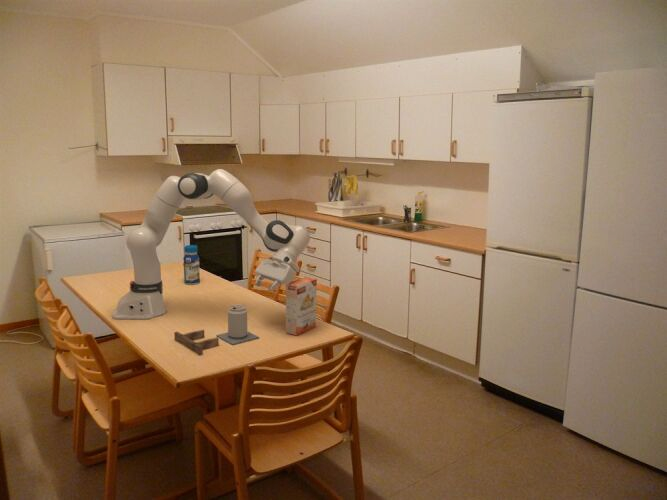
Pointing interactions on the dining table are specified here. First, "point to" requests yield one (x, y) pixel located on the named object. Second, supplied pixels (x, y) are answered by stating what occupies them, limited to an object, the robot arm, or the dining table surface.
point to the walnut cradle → (196, 346)
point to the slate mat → (237, 341)
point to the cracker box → (300, 305)
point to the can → (237, 321)
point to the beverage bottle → (191, 265)
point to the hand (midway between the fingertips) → (263, 287)
